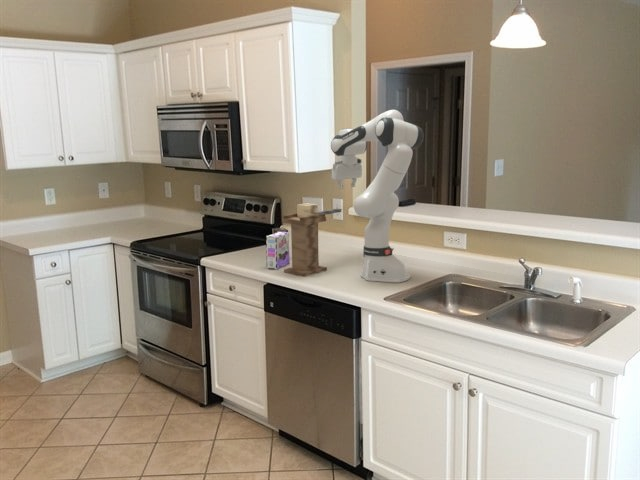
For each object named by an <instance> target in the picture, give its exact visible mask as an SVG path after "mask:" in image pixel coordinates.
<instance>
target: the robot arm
mask: <svg viewBox="0 0 640 480" xmlns="http://www.w3.org/2000/svg"><path fill="white" fill-rule="evenodd" d="M424 136H425V135H424V131H423V128H421V127H420V126H418V125H417V124H414V123H410V122H407V121H404V116H403V115H402V113H401V112H400V111H399V110H397V109H388V110H387V111H384V112H382V113H381V114H378V115H376V117H373V118H372V119H370V120H369V121H367V122H365V123H363V124H362V125H359V126H358V127H356V128H351V127H346V128H342V129H340V130H339V132H338V134H336V135H335V136H334V137H333V138H332V139H331V142H330V149H331V151H332V153H333V154H334V155H336V156H337V158H338V159H337V161H335V162H334V163H333V164H332V168H331V169H332V170H331V179H332V180H333V181H336V182H337V185H338V189H344V185H343V183H342V182H343V180H351V183H350V187H351V188H355V187H356V183H357V180H358V179H359V178H362V175H363V166H362V163H363V160H362V159H361V158H359V157H357V156H356V155H362V154H363V155H364V153H366V151H367V149H368V142H380V143H381V145H382V147H383V148H384V147H387V146H388V147H387V148H388V151H387V154H386V155H385V157H384V159H383V161H382V163H381V165H380V167H379V170H378V171H377V174H376V175H375V177H374V179H372V181H371V182H370V184H369V185H368V187H366V189H364V191H363V192H362V193H361V194H360V195H358V196H357V197H356V198H355V200H354V201H353V209H354V212H355V214H356V215H357V216H358V217H361V218H368V219H369V222H368V224H367V225H365V228H364V233H363V234H364V245H363V250H362V251H363V266H362V270H361V275H360V277H361V278H363V279H364V280H366V281H369V282H370V281H371V282H384V283H385V282H386V283H394V284H395V283H396V284H399V283H404V282H406V281H408V280H410V279H411V274H409V273H407V272H406V266H405V264H404V263H403V262H402V261H401V260H400V259H398V258H397V257H396V256H395V255H394V254H393V251H394V250H395V248H394V247H391V246H390V243H389V242H390V240H389V239H390V227H391V224H392V223H391V222H392V219H393V217H394V214H395V212H396V210H397V209H398V208H399V206H400V205H399V204H400V199H399V197H398V195H397V193H395V192H396V191H397V190H398V189H399V188H400V186H401V184H402V182H403V180H404V177H405V176H406V174H407V172H408V169H409V167H410V165H411V162H412V159H413V154H414V152H413V150H414V149H415V150H416V149H418V148H419V147H420V146H421V145H422V143H423V141H424Z"/></svg>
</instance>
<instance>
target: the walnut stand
mask: <svg viewBox="0 0 640 480" xmlns="http://www.w3.org/2000/svg"><path fill="white" fill-rule="evenodd" d="M282 217H283V218H282V223H283V224H289V225H290V235H291V236H290V237H291V267H287V268H284V269H283V272H284V273H286V274H289V273H290V275H294V276H299V277H304V278H305V277H307V276H311V275H314V274H319V273H322V272H326V271H327V270H328V268H327V266H322V265H319V264H320V263H319V258H320V257H319V256H320V255H319V223H323V222H327V217H326V215H325V214H318V215H312V216H306V217H297V213H296V212H295V213H290V214H284V215H283V216H282Z"/></svg>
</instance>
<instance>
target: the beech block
mask: <svg viewBox="0 0 640 480" xmlns="http://www.w3.org/2000/svg"><path fill="white" fill-rule="evenodd" d="M296 209H297V210H296V212H297V217H306V216H312V215H318V214H325V216H326V215H330V214H336V213H342V208H338V207H337V208H332V209H326V210H321V211H320V210H319V204H316V203H315V204H314V203H308V202H307V203H306V202H305V203H299V204H297V205H296Z"/></svg>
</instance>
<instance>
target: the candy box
mask: <svg viewBox="0 0 640 480" xmlns="http://www.w3.org/2000/svg"><path fill="white" fill-rule="evenodd" d="M265 242H266V243H265V244H266V245H265V247H266V248H265V250H266V252H265V254H266V255H265V256H266V269H270V270H279V269H281V268H284V267H286V266H287V265H290V264H291V263H290V235H289V231H288V232H278V233H275V234H273V233H272V234H269V235H266V236H265Z"/></svg>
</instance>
